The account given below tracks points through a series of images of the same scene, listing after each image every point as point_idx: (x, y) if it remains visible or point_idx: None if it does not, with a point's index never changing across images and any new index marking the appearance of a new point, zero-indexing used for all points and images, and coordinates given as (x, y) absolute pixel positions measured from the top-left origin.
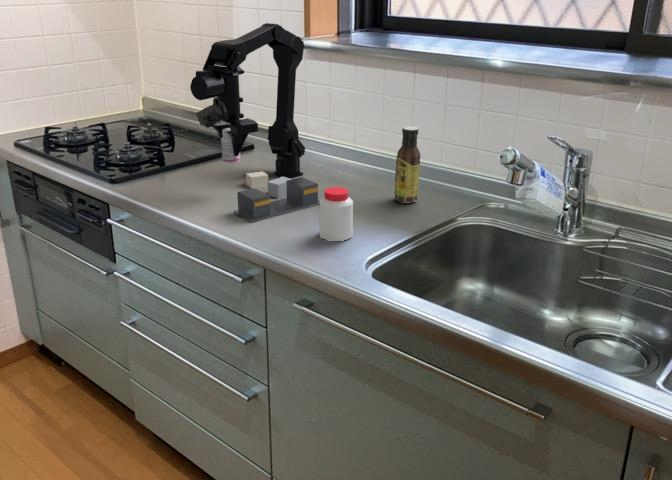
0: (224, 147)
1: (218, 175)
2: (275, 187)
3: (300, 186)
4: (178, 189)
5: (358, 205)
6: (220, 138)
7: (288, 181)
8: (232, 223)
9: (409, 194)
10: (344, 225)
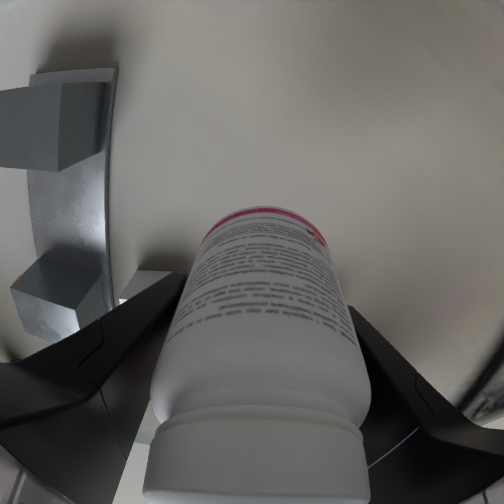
0: (254, 274)
1: (444, 302)
2: (136, 291)
3: (16, 290)
4: (476, 129)
5: (23, 327)
6: (408, 379)
7: (64, 307)
8: (65, 24)
9: None
10: None
